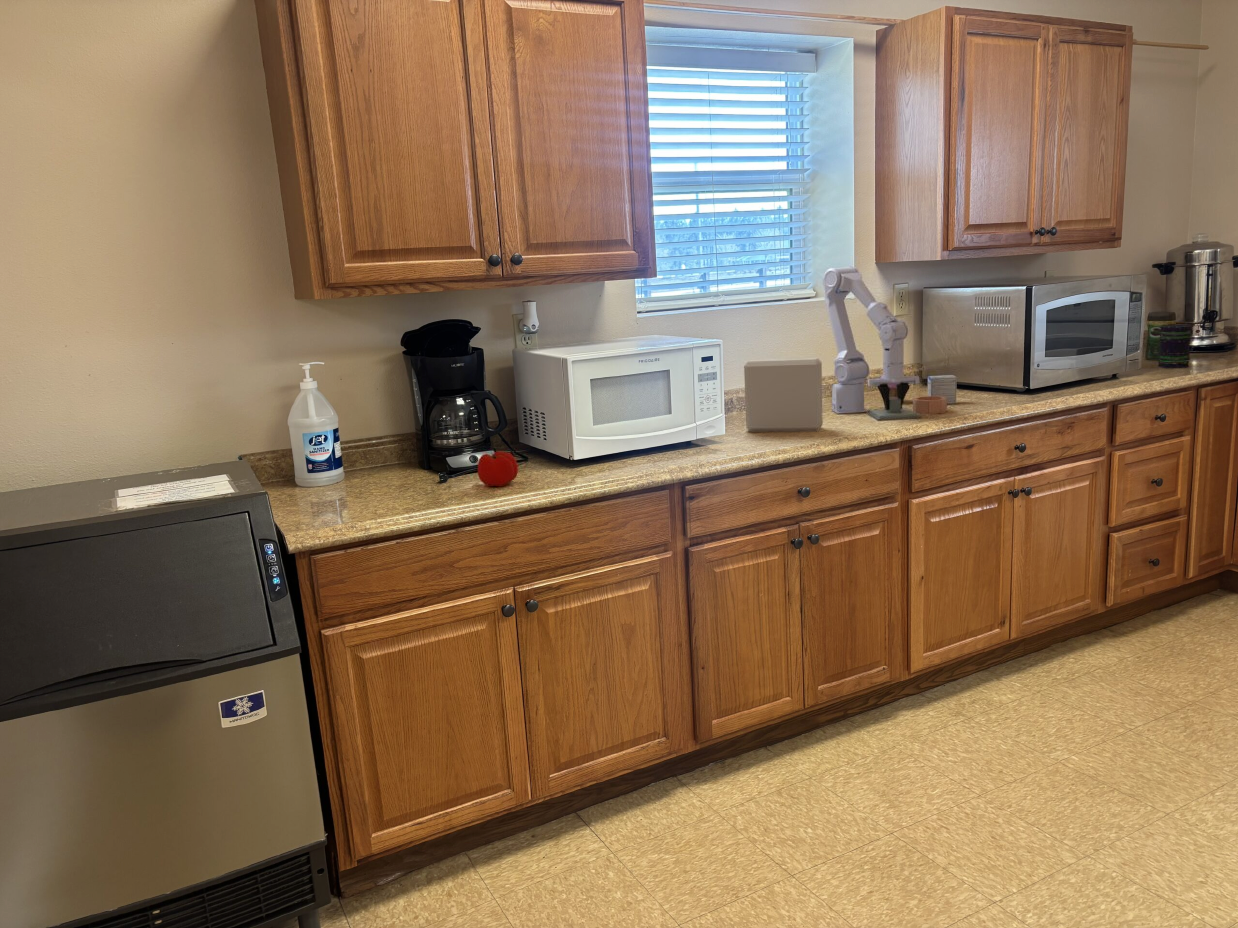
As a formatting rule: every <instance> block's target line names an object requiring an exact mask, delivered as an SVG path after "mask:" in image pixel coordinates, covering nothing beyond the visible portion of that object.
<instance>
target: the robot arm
mask: <svg viewBox="0 0 1238 928" xmlns="http://www.w3.org/2000/svg"><path fill="white" fill-rule="evenodd" d="M821 279H822V280H821V281H822V286H823V290H824V303H825V306H826V310H827V315H828V318H829V322H830V327H831V330H832V333H833V338H834V342H835V346H836V349H837V353H838V355H837V356H836V357H835V359H834V360H833V365H834V371H833V372H834V373H833V374H834V377H835V379H836V381H837V382H838V383H834V384H832V388H831V395H832V397H831V401H832V404H831V407H832V408H831V410H832V411H833V412H835V413H836V414H851V413H852V414H853V413H867V412H869V410H868V409H866V408H865V382H866V379H867V378H868V376H869V374H870V366H869V364H868V362H867V361H866V359H865V356H864V353H862V352H860V351H859V350H858V349H857V346H856V343H855V340H854V339H855V338H854V335H853V332H852V326H851V323H850V320H849V315H848V311H847V308H846V304H845V300H846V298H847V296H848V295H849V294H850V293H852V295H854V297H855V298H856V299H857V300H858V301H859V302H860V303H861V304H862V305H863V306H864V308H865V309H866V310H867V311H866V316H867V318H869V320H870V322H871V323H873V325H874V326H875V327H876V329H877V330H878V331H879V332H878V334H877V335H878V337H879V339H880V341H881V346H882V348H883V349H882V356H883V357H882V359H883V361H882V366H883V367H882V370H883V372H882V375H883V378H881V377H877V378H869V379H867V386H868V387H874V386H875V387H876V386H877V388H878V391H879V393H880V396H881V398H882V401H883V405H884V409H886V410H889V393H890V388H889V386H888V385H896V384H897V385H896V386H897V396H898V398H899V399H901V409H902V408H903V405H904V404H903V403H904V401H905V397H906V396H907V394H908V391H909V390H910V385H911V384H915V385H917V384H920V376H918V375H916V376H915V375H914V376H905V374H904V373H905V372H904V368H905V367H904V361H905V360H904V354H905V353H904V352H905V351H904V348H905V347H904V344H905V343H904V340H905V339H906V338H908V333H909V329H908V326H907V324H906V322H905V321H903V320H899V319H898V318H897V317H896V316H895V315H894V313H892V312H891V310H890V309H889V308H888V304H887V303H884V302H881V301H877V300H876V298H875V297H874V295H873V293H872V292H871V291H870V290H869V288H868V286H867V285H866V284H865V283H864V281H863V275H862V274H861V272H859V270H858V269H857V268H856V267H855V266H849V267H837V268H836V267H830V268H827V270H826V271H825V273H824V276H823V277H822V278H821ZM904 376H905V377H904ZM888 382H897V383H888Z"/></svg>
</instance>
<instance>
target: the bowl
mask: <svg viewBox="0 0 1238 928" xmlns="http://www.w3.org/2000/svg"><path fill="white" fill-rule="evenodd" d="M912 411H914V412H916V413H921V414H920V415H936V414H935V413H941V414H944V413H947V411H948V404H947V398H945V397H942V396H928V395H926V396H922V395H921V396H916V397H913V398H912Z"/></svg>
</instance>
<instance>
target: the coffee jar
mask: <svg viewBox="0 0 1238 928" xmlns="http://www.w3.org/2000/svg"><path fill="white" fill-rule="evenodd" d="M1176 323H1177V315H1176V312H1174V311H1168V310H1167V311H1166V310H1165V311H1163V310H1161V311H1159V310H1158V311H1151V312H1148V315H1147V318H1146V326H1147V339H1146V345H1145V351H1144V352H1145V353H1144V358H1145V359H1146V360H1148V361H1149V360H1150V361H1159V360H1158V357H1159V352H1160V337H1161V336H1160V333H1161V332H1160V330H1161V328H1160V326H1162V325H1177V324H1176Z"/></svg>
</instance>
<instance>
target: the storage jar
mask: <svg viewBox="0 0 1238 928" xmlns="http://www.w3.org/2000/svg"><path fill="white" fill-rule="evenodd" d="M1160 328H1161V330H1160V332H1161V333H1160V336H1161V337H1160V352H1159V357H1158V360H1157V361H1158V362H1157V363H1158V365H1157V368H1160V369H1187V368H1189V363H1190V360H1191V359H1190V358H1191V356H1190V355H1191V352H1190V344H1191V343H1190V342H1191V340H1192V338H1191V337H1192V325H1191V324H1175V325H1162V326H1160Z"/></svg>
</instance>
